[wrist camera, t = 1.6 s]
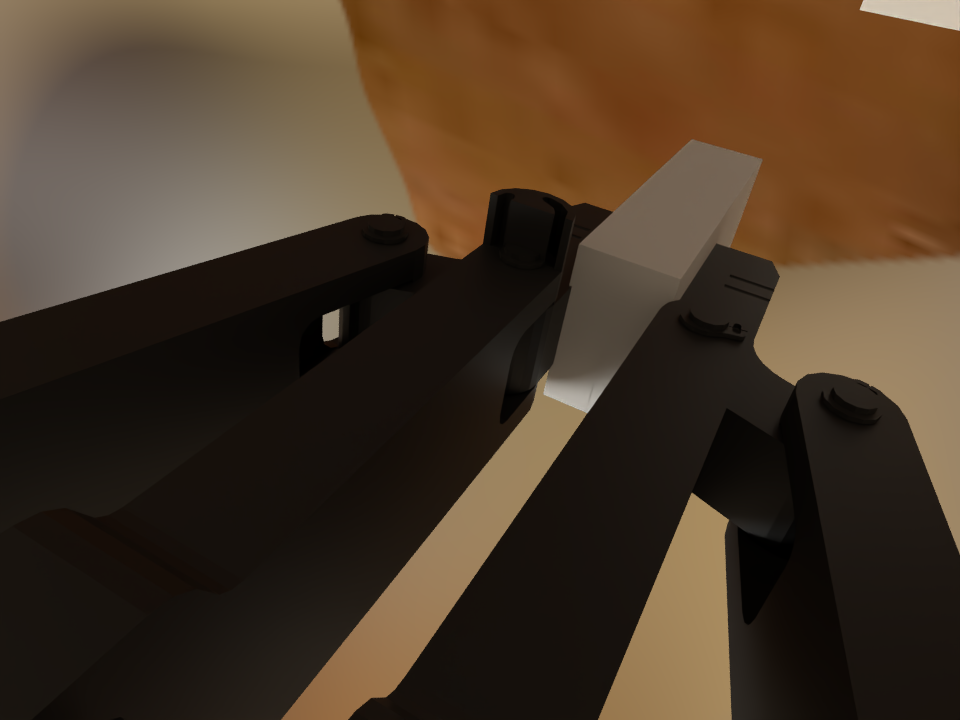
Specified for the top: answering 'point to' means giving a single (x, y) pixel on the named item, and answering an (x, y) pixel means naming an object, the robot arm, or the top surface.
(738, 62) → the top surface
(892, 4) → the socket board
